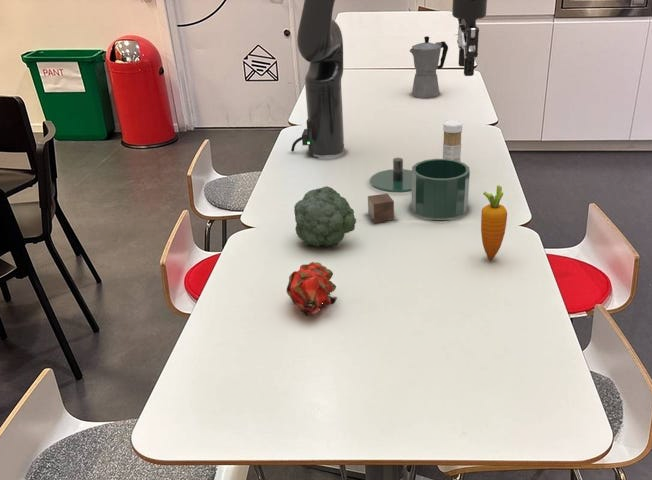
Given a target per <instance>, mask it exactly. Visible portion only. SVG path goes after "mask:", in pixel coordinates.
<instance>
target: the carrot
mask: <svg viewBox="0 0 652 480" xmlns="http://www.w3.org/2000/svg"><path fill="white" fill-rule="evenodd" d="M482 195H484V197H486V199H487V200H488V201H489V203H488V204H487V205H484V207H482V209H481V216H480V233H481V241H482V245H483V250H484V253H485V254H486V257H487V259H488V260H489V261H492V260H493V259H494V258H495V257H496V256H497V254H498V252H499V251H500V249H501V247H502V243H503V240H504V237H505V233H506V227H507V223H508V222H507V221H508V210H507V208H506V207H505V206H504V205H503V204H500V202H501V200H502V199H503V196H504V192H503V187H502V186H501V185H497V186H496V194H495V195H494V194H493V193H488V192H486V191H484V192H483V194H482Z"/></svg>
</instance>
